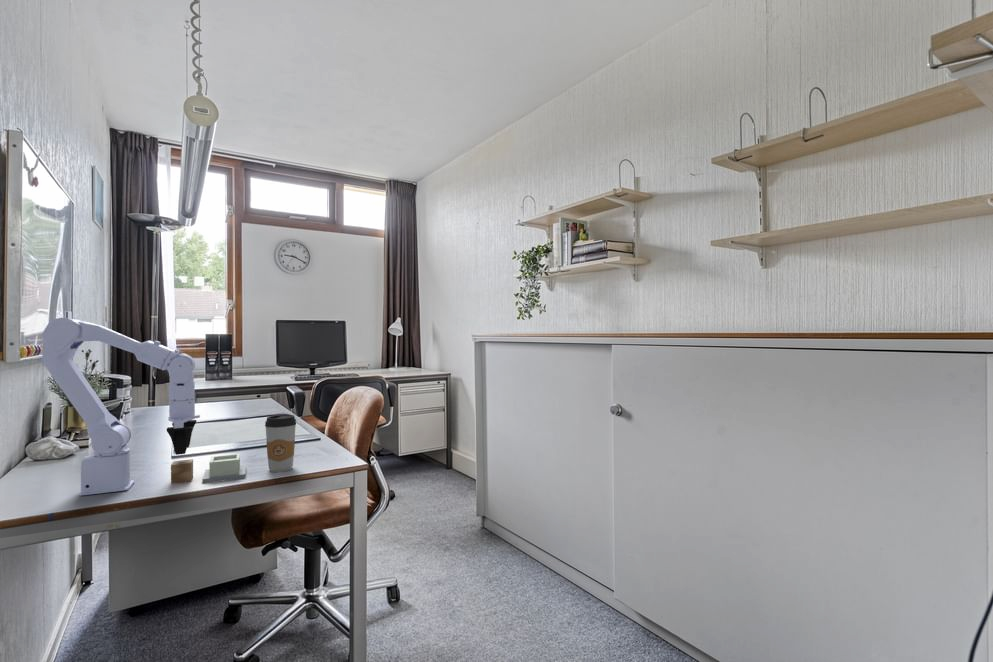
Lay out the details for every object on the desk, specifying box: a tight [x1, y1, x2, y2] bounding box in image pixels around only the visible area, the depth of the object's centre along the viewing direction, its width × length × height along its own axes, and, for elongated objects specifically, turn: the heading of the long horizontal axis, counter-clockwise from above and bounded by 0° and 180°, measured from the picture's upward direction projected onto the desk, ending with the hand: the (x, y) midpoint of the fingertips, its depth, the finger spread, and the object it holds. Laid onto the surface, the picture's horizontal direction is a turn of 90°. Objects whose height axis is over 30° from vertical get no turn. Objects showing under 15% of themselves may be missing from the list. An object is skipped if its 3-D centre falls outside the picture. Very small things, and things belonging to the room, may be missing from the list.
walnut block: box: [170, 458, 194, 485], centre depth 131 cm, size 4×4×5 cm
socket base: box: [201, 453, 247, 484], centre depth 136 cm, size 10×10×5 cm
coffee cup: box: [264, 414, 297, 473], centre depth 142 cm, size 8×8×15 cm
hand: (182, 450), depth 131 cm, fingers open, 7 cm apart
